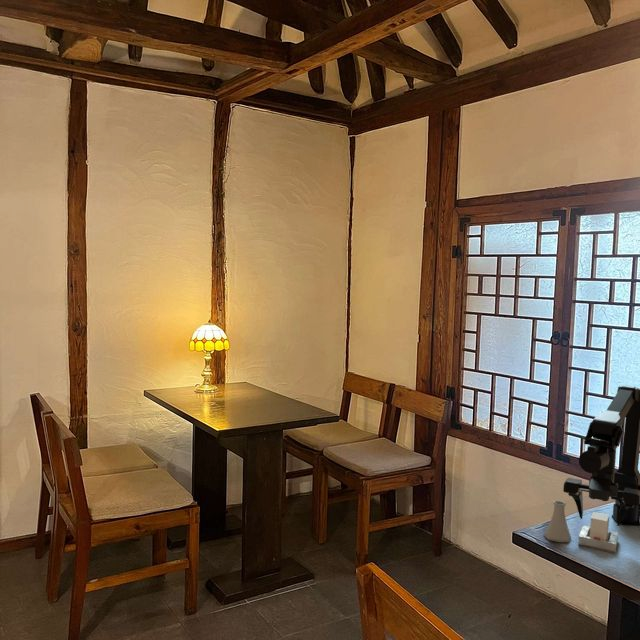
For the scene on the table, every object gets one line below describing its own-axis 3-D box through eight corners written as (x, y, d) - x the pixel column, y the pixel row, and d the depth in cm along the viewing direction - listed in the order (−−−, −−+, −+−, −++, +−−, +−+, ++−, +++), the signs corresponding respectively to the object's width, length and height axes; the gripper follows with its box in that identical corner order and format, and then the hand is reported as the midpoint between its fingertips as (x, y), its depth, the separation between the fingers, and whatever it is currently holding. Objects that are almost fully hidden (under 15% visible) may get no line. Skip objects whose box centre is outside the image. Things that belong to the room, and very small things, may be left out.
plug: (591, 536, 178) (593, 511, 177) (607, 539, 176) (609, 514, 175) (589, 543, 173) (590, 518, 172) (605, 546, 171) (607, 521, 170)
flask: (573, 544, 173) (576, 508, 172) (545, 541, 174) (547, 505, 174) (568, 534, 180) (571, 499, 179) (541, 531, 181) (543, 496, 181)
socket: (582, 534, 180) (583, 523, 180) (618, 541, 176) (618, 530, 176) (578, 545, 173) (578, 534, 172) (614, 553, 168) (615, 542, 168)
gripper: (561, 466, 170) (558, 524, 171) (640, 479, 161) (635, 540, 162) (568, 457, 180) (565, 511, 181) (642, 469, 171) (638, 526, 172)
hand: (599, 522), depth 174 cm, fingers open, 9 cm apart
